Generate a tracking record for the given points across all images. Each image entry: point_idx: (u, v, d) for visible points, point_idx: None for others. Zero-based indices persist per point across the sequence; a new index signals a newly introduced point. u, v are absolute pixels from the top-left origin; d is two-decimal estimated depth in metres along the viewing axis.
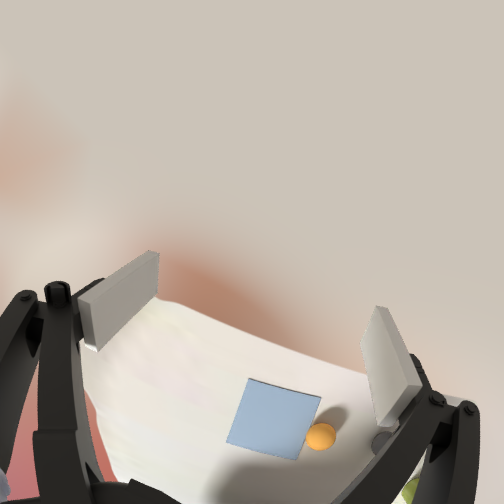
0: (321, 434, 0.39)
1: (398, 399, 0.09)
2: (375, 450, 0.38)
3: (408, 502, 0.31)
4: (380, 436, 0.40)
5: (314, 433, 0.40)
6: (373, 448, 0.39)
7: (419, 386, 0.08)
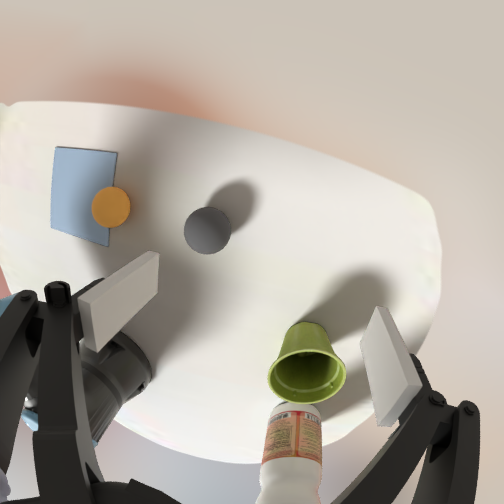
0: (96, 199, 0.31)
1: (398, 399, 0.09)
2: None
3: (278, 365, 0.34)
4: (193, 212, 0.32)
5: (93, 200, 0.32)
6: None
7: (419, 386, 0.08)
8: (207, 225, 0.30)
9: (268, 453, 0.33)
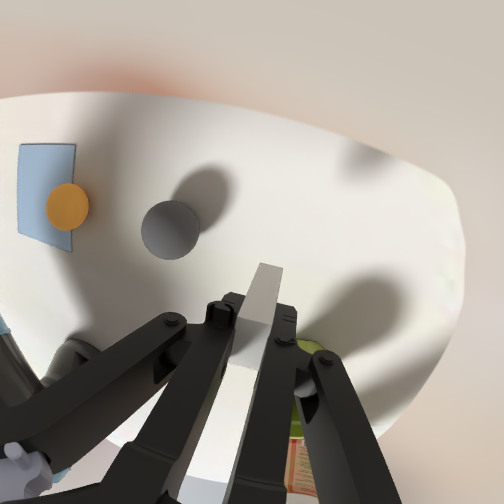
0: (49, 198, 0.24)
1: (251, 337, 0.12)
2: None
3: None
4: None
5: (47, 199, 0.25)
6: None
7: (268, 325, 0.11)
8: (165, 223, 0.23)
9: None
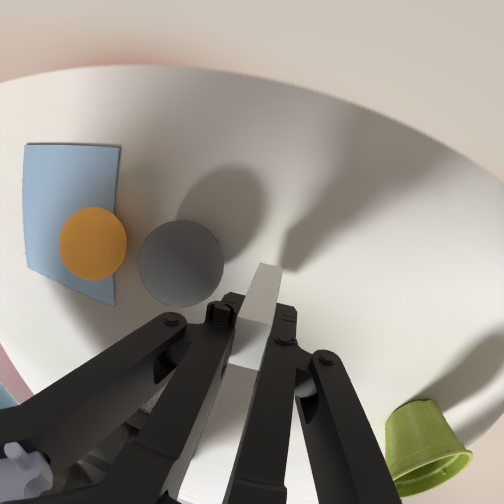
0: None
1: (251, 337, 0.12)
2: None
3: (386, 463, 0.18)
4: None
5: None
6: None
7: (268, 325, 0.11)
8: None
9: None
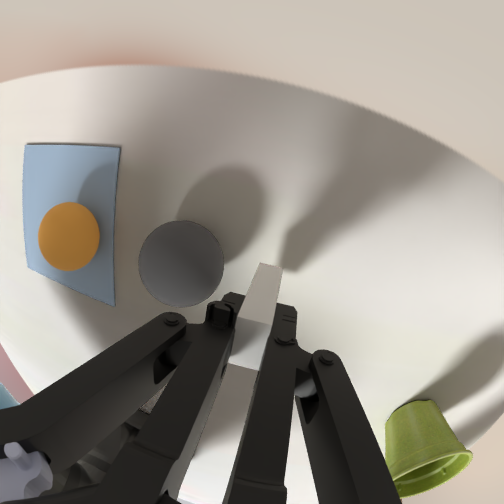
0: None
1: (251, 337, 0.12)
2: None
3: (386, 463, 0.18)
4: None
5: None
6: None
7: (268, 325, 0.11)
8: None
9: None
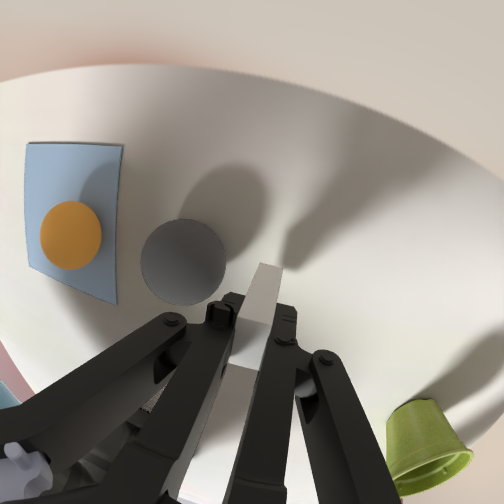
0: None
1: (251, 337, 0.12)
2: None
3: (387, 462, 0.18)
4: None
5: None
6: None
7: (268, 325, 0.11)
8: None
9: None
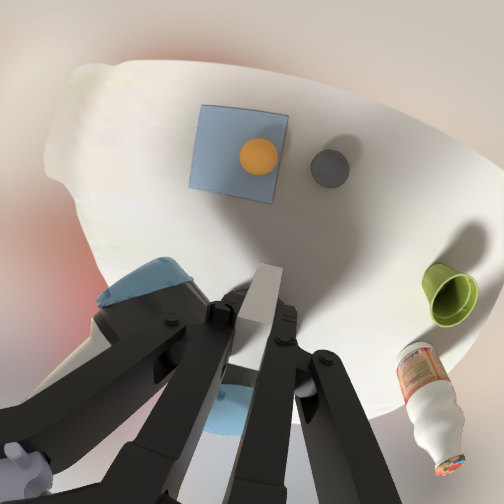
0: None
1: (251, 337, 0.12)
2: None
3: (429, 296, 0.38)
4: None
5: None
6: None
7: (268, 325, 0.11)
8: None
9: (415, 384, 0.37)
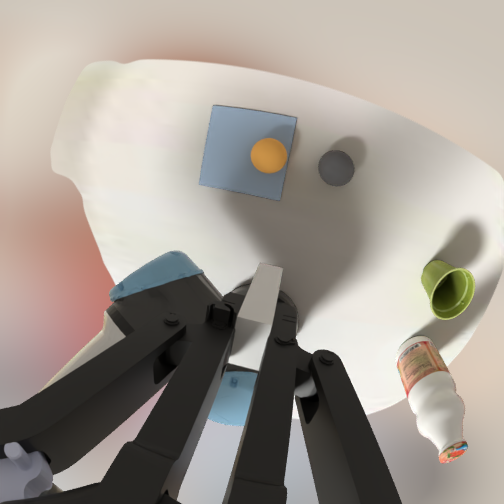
0: None
1: (251, 337, 0.12)
2: None
3: (428, 290, 0.40)
4: None
5: None
6: None
7: (268, 325, 0.11)
8: None
9: (416, 376, 0.39)
